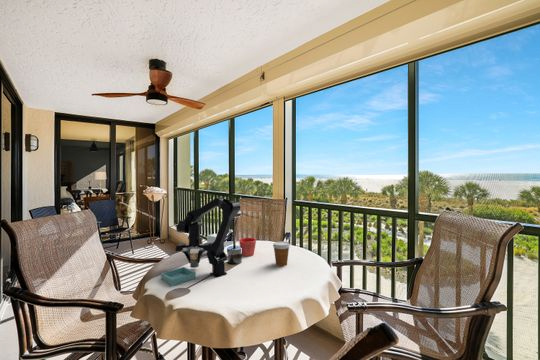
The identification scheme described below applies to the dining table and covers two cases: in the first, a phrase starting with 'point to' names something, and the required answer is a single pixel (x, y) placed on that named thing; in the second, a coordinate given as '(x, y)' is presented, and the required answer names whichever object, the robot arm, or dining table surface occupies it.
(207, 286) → the dining table surface
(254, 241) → the flower pot
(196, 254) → the battery cell
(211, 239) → the supplement box
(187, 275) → the trough tray
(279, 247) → the disposable coffee cup
